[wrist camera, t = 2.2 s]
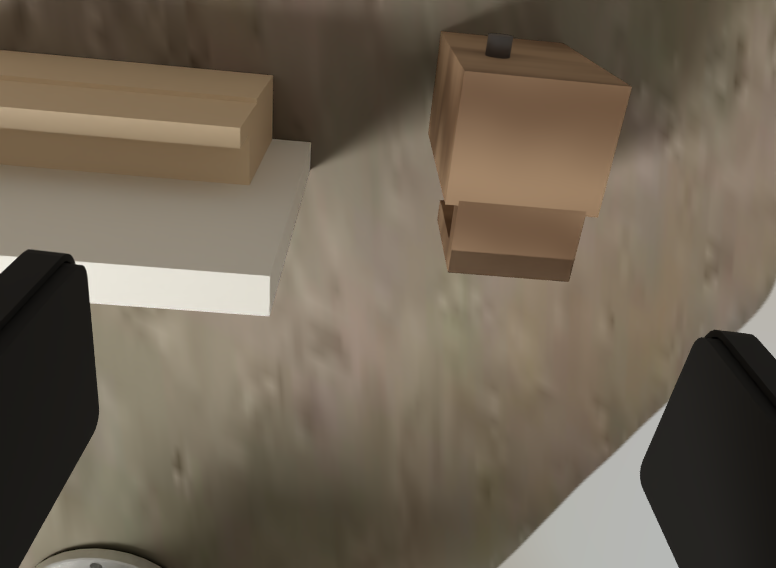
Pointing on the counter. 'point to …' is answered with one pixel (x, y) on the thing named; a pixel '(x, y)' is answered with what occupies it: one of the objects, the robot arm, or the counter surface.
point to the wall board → (149, 179)
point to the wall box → (520, 152)
